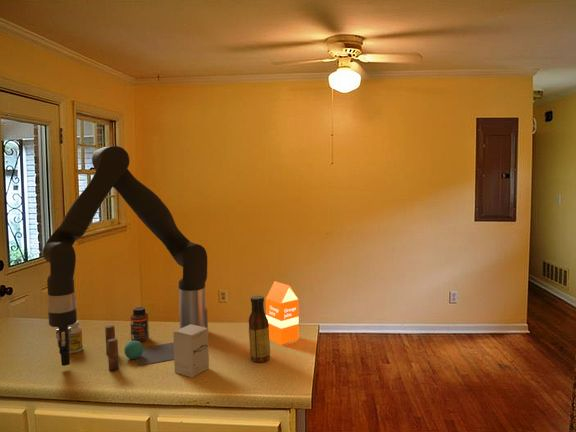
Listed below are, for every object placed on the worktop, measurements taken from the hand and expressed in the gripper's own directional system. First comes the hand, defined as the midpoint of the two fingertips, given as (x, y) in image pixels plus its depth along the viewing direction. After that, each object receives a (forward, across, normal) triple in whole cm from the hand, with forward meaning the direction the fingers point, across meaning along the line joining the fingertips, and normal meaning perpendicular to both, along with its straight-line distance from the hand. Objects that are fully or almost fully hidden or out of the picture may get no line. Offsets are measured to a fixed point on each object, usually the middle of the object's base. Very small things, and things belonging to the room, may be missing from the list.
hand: (65, 364), depth 137 cm
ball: (-1, -1, -19) cm, 19 cm away
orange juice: (+2, -6, -68) cm, 68 cm away
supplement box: (+2, -17, -34) cm, 38 cm away
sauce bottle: (+2, -18, -55) cm, 58 cm away
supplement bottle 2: (+2, +15, -23) cm, 28 cm away
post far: (+2, +6, -13) cm, 15 cm away
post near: (+2, -6, -13) cm, 15 cm away
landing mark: (+2, 0, -27) cm, 27 cm away
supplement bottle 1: (+2, +15, -2) cm, 15 cm away
